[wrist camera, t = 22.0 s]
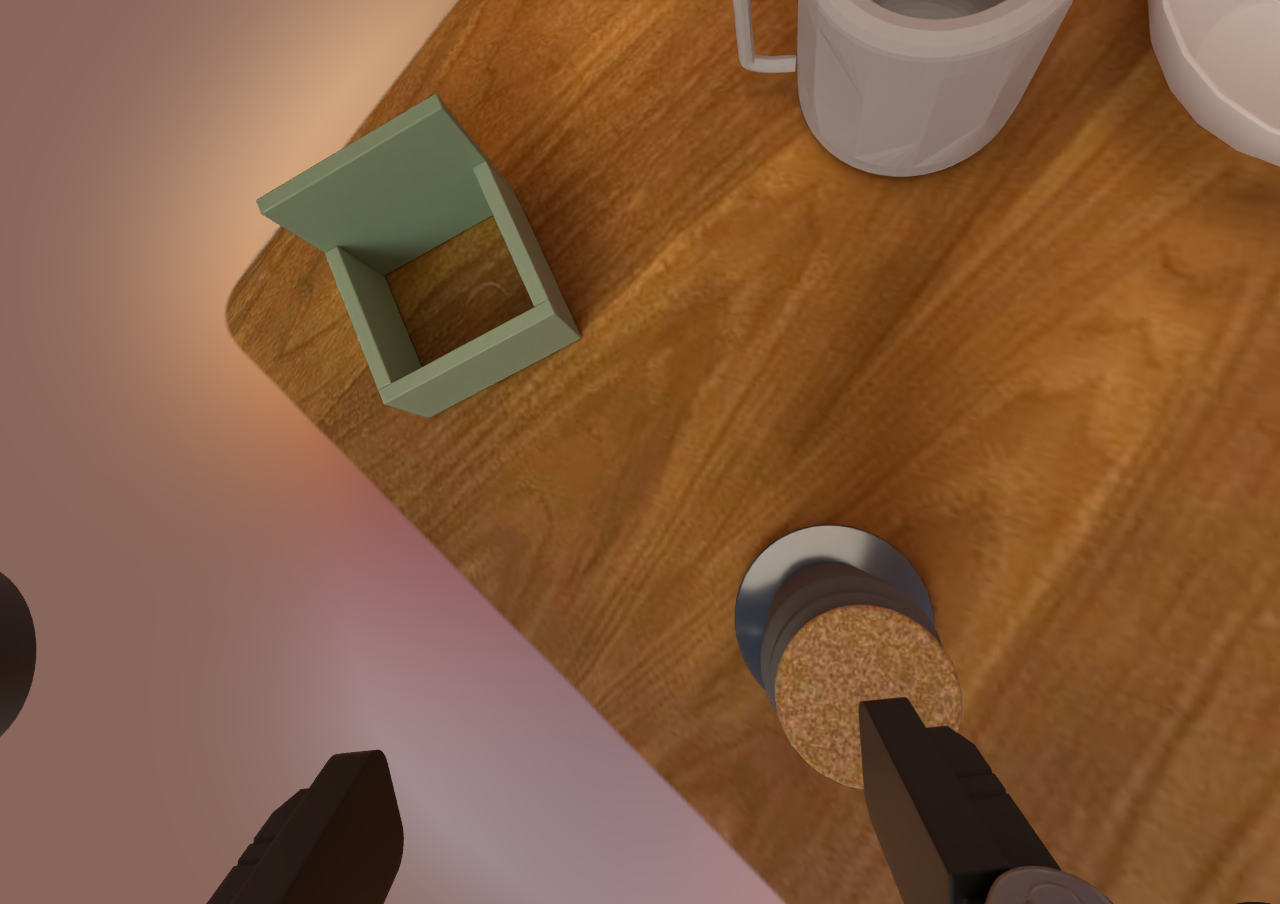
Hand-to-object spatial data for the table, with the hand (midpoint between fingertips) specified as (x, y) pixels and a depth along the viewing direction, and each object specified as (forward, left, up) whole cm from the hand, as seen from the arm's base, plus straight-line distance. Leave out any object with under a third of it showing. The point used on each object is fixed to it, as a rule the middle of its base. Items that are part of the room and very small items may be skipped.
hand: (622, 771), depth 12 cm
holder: (-6, +21, -23) cm, 32 cm away
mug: (+18, +21, -24) cm, 36 cm away
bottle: (+4, -2, -23) cm, 24 cm away
